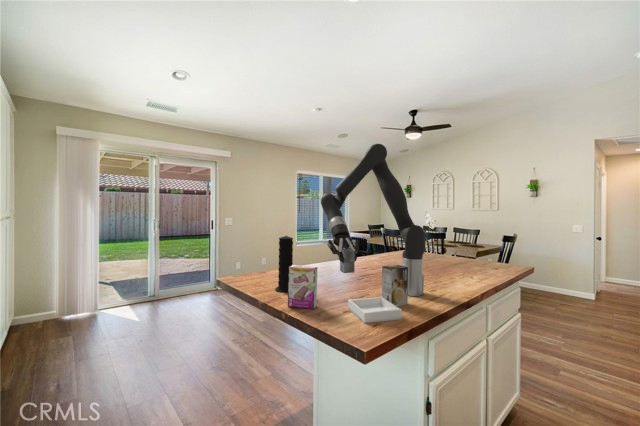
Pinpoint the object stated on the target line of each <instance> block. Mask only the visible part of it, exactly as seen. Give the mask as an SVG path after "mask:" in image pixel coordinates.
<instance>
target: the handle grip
mask: <svg viewBox="0 0 640 426" xmlns="http://www.w3.org/2000/svg"><path fill="white" fill-rule="evenodd" d="M278 245H279V246H278V275H277V277H278V282H277V284H278V286H276V287H275V289H274V291H275V292H277V293H283V294H285V293H286V294H288V280H289V267H290V266H291V265H294V263H293V260H294V259H293V257H294V255H293V253H294V246H293V245H294V238H293V237H290V236H288V235H284V236H281V237H279V238H278Z"/></svg>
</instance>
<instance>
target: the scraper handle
mask: <svg viewBox="0 0 640 426" xmlns="http://www.w3.org/2000/svg"><path fill="white" fill-rule="evenodd" d="M342 254H343V257H344V262H343V263H341V262H340V261H339V271H340V272H341V273H343V274H351V273H355V263H356V261H354V258H355V250H353V249H345V248H343V249H342Z"/></svg>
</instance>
